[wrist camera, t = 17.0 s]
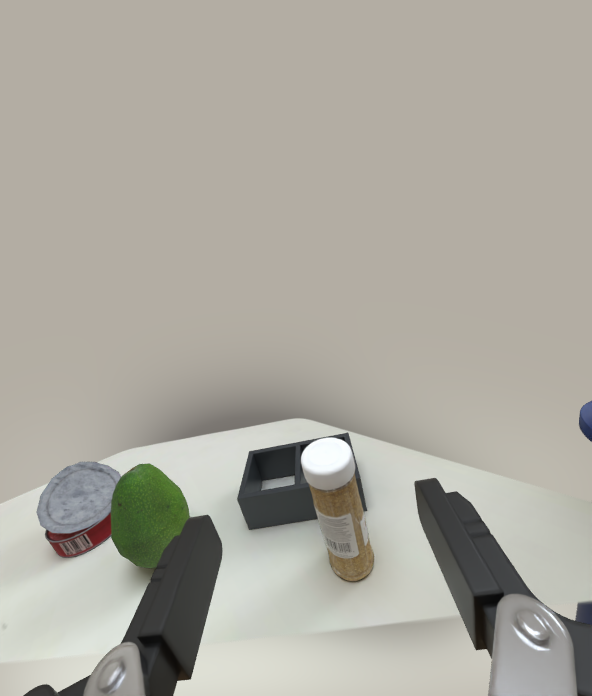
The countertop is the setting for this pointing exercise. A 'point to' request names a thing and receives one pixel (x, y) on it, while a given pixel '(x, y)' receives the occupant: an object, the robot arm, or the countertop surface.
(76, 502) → the canned food
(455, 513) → the robot arm
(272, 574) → the countertop surface
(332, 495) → the sprinkles bottle
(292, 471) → the divided storage box
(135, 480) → the avocado
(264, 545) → the countertop surface
